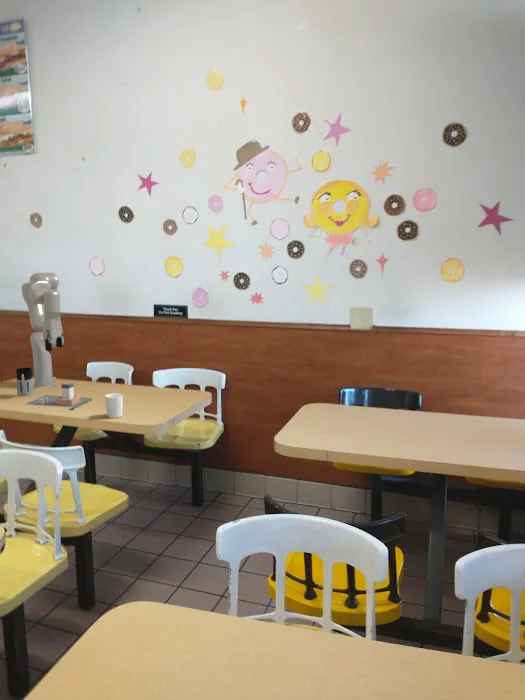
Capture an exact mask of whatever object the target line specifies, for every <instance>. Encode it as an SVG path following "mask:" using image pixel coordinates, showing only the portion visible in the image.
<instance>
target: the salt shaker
mask: <svg viewBox="0 0 525 700" xmlns="http://www.w3.org/2000/svg"><path fill="white" fill-rule="evenodd" d="M60 388H61V396H62V399H72V398H74V395H75V391H74V390H75V388H74V382H66V381H65V382H64V383H61V387H60Z"/></svg>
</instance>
